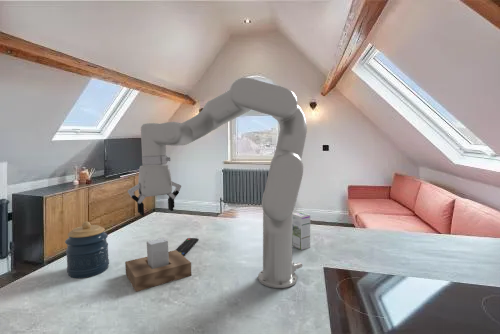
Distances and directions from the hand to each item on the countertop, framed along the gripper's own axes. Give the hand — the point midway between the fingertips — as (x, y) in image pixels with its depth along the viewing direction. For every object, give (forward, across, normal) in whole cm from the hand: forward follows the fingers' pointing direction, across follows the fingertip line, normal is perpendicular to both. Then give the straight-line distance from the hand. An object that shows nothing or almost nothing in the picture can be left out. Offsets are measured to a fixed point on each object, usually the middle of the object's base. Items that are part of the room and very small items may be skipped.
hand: (156, 212), depth 94 cm
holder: (+22, 0, 0) cm, 22 cm away
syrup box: (+22, -58, +10) cm, 63 cm away
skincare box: (+22, 0, 0) cm, 22 cm away
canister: (+22, +19, -18) cm, 34 cm away
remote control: (+22, -16, -17) cm, 32 cm away
